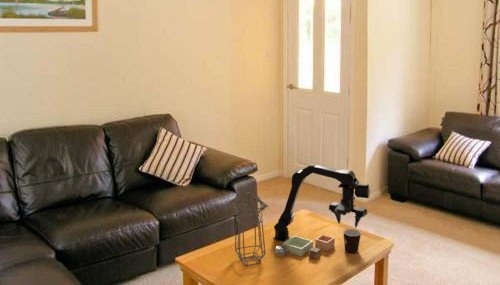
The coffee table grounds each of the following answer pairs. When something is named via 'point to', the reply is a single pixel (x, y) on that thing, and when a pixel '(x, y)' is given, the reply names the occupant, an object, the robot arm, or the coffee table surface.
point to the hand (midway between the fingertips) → (347, 225)
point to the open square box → (324, 242)
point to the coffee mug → (351, 240)
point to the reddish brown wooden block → (281, 250)
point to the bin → (298, 245)
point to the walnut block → (314, 253)
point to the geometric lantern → (249, 223)
